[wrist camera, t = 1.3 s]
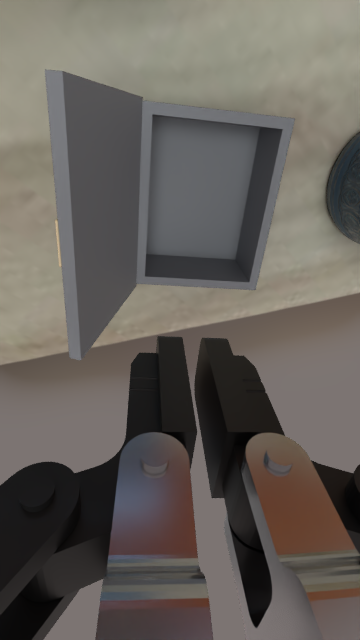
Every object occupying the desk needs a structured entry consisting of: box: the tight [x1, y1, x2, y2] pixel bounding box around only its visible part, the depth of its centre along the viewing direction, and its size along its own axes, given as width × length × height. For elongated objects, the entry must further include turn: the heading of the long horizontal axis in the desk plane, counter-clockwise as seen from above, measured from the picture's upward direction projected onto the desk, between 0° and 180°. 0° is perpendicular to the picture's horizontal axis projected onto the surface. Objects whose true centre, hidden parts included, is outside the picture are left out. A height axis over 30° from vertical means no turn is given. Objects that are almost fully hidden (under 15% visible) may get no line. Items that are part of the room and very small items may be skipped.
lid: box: [45, 70, 143, 360], centre depth 24 cm, size 12×15×1 cm
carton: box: [136, 101, 295, 290], centre depth 33 cm, size 12×15×7 cm
